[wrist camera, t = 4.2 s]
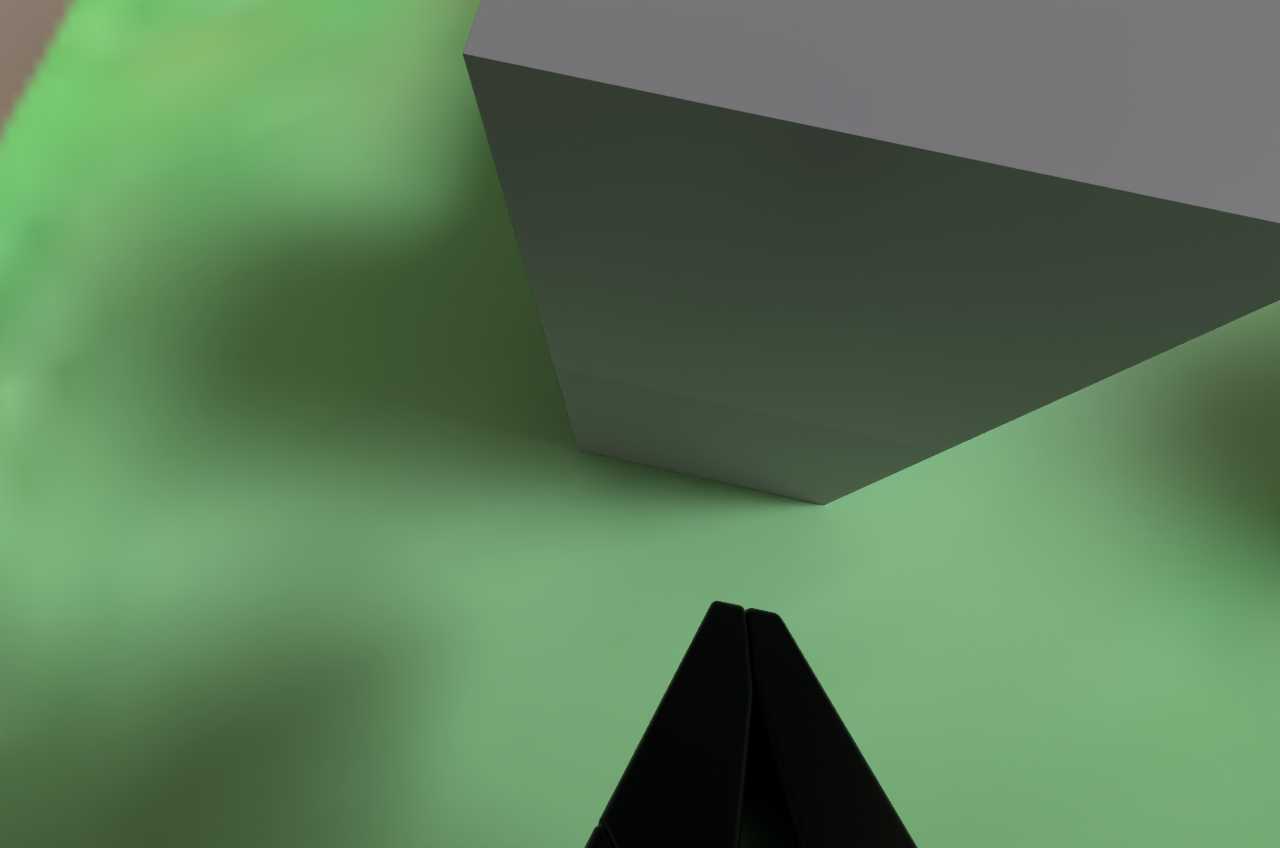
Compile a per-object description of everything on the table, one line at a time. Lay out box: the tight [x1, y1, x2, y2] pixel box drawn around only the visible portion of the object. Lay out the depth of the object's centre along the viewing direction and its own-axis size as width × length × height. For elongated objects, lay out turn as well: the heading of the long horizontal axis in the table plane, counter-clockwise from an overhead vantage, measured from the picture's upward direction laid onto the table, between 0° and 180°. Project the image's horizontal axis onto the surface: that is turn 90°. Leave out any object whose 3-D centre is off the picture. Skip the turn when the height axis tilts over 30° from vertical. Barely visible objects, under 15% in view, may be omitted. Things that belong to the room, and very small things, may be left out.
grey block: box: [463, 0, 1280, 505], centre depth 12 cm, size 14×6×12 cm, turn 167°
